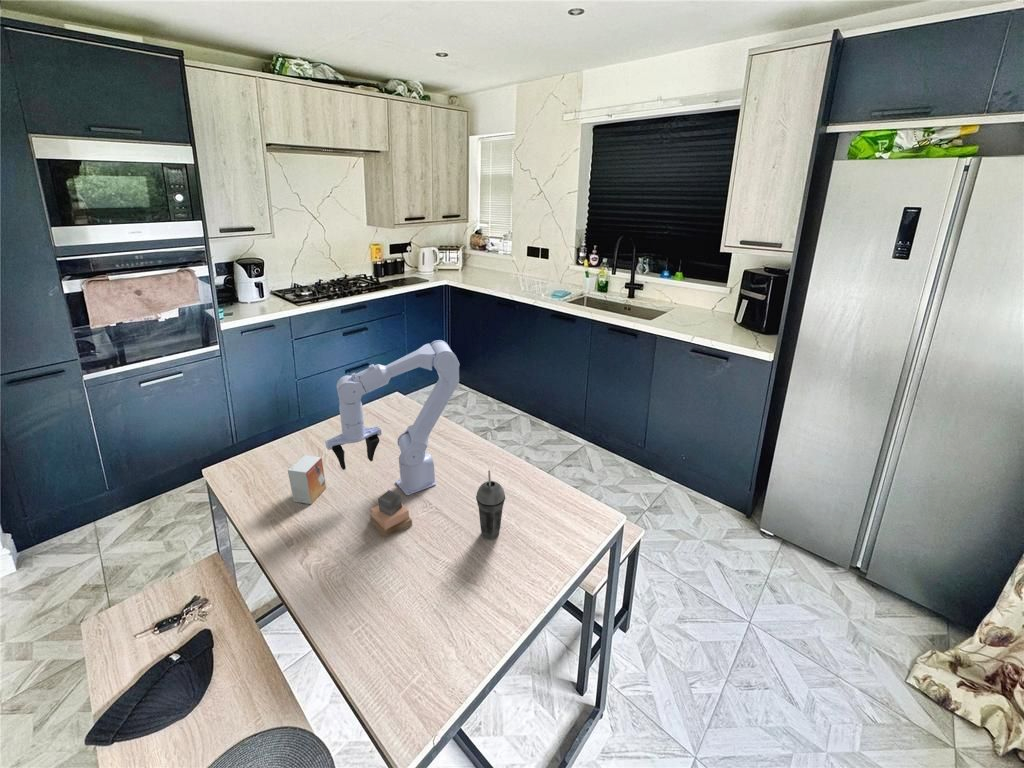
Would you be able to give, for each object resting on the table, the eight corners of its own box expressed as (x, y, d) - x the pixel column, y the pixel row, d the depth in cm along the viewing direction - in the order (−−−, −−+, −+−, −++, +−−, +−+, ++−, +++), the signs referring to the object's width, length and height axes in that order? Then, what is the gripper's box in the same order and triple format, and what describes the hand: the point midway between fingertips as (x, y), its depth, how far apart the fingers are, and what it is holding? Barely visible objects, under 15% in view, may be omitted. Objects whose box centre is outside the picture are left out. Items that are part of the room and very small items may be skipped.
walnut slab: (399, 510, 135) (398, 503, 134) (412, 527, 130) (411, 519, 128) (371, 522, 131) (370, 514, 130) (383, 539, 125) (382, 531, 124)
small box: (311, 505, 136) (305, 473, 131) (293, 502, 137) (286, 470, 132) (327, 487, 143) (322, 456, 139) (309, 485, 144) (304, 454, 140)
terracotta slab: (395, 505, 134) (394, 497, 133) (409, 518, 129) (408, 510, 128) (371, 516, 129) (370, 508, 128) (385, 530, 125) (384, 522, 124)
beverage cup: (508, 528, 129) (510, 463, 121) (498, 546, 123) (499, 480, 115) (482, 521, 131) (482, 457, 123) (471, 539, 125) (470, 473, 117)
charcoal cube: (390, 502, 131) (388, 490, 129) (402, 507, 129) (400, 494, 127) (379, 511, 127) (377, 498, 126) (391, 516, 126) (389, 503, 124)
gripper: (372, 407, 137) (376, 449, 143) (319, 420, 129) (325, 464, 135) (383, 417, 132) (386, 460, 138) (328, 432, 124) (334, 477, 130)
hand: (356, 463), depth 136 cm, fingers open, 7 cm apart
